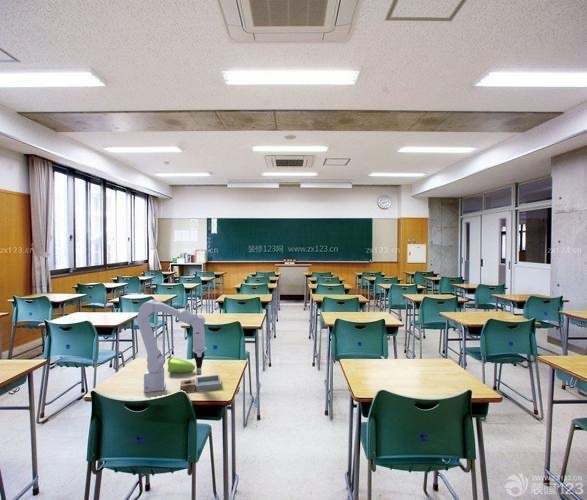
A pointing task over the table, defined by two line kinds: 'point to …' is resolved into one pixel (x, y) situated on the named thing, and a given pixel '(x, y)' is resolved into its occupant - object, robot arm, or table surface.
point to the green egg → (179, 366)
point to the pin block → (187, 385)
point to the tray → (208, 383)
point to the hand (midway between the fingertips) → (199, 366)
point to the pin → (198, 371)
